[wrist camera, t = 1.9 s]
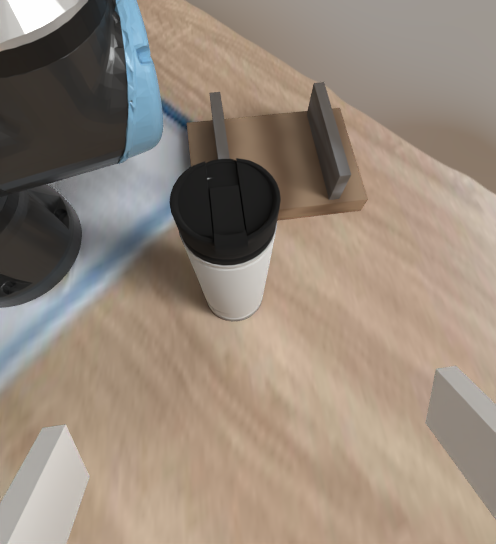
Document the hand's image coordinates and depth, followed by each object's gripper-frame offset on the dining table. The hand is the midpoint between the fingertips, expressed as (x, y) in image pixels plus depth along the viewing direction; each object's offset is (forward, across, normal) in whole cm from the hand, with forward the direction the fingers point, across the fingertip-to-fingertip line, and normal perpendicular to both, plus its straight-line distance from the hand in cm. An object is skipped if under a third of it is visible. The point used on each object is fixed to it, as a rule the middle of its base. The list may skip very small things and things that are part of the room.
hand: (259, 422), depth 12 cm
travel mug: (+24, 0, -8) cm, 25 cm away
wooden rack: (+34, +7, +4) cm, 35 cm away
